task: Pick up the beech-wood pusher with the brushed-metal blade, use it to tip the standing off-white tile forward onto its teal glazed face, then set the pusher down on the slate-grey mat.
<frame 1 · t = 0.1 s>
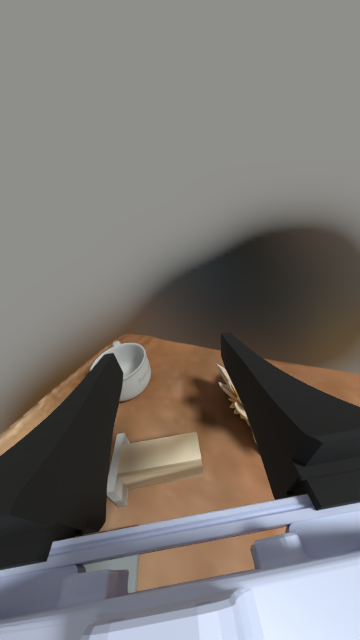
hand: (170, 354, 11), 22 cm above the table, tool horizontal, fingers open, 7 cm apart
teacup: (129, 381, 38), on the table
pusher: (166, 468, 24), on the table
decorative flower: (259, 415, 28), on the table
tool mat: (48, 633, 15), on the table
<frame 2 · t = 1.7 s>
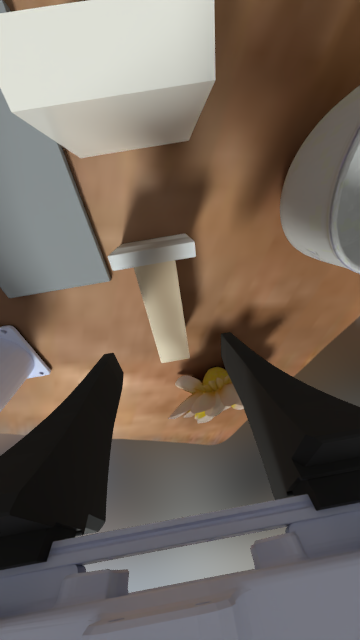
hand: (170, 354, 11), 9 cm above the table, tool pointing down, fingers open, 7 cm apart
teacup: (338, 181, 15), on the table
tile: (130, 129, 12), on the table
pusher: (165, 296, 19), on the table
decorative flower: (212, 376, 28), on the table
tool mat: (11, 196, 13), on the table
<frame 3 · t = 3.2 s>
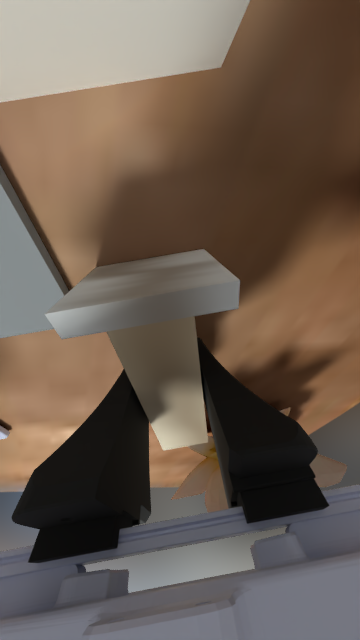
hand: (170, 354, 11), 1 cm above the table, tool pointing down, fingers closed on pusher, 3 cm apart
tile: (99, 36, 5), on the table
pusher: (168, 340, 13), on the table, touching gripper
decorative flower: (228, 424, 21), on the table
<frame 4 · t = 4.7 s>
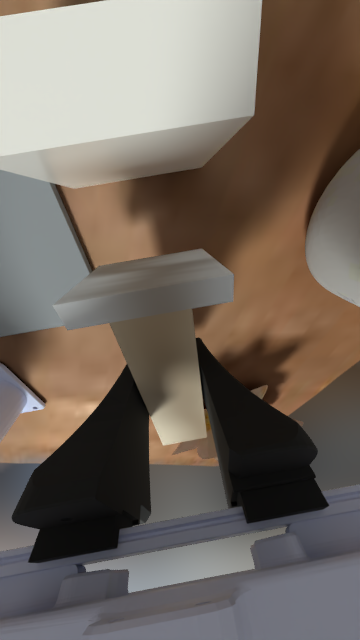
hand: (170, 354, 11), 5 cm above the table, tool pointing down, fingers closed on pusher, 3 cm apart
tile: (133, 156, 10), on the table
pusher: (168, 338, 13), point 4 cm above the table, touching gripper
decorative flower: (219, 401, 26), on the table
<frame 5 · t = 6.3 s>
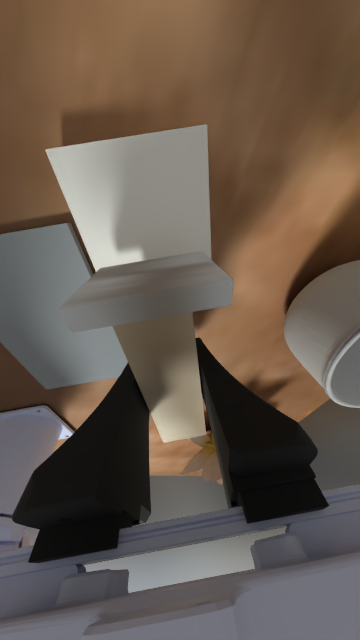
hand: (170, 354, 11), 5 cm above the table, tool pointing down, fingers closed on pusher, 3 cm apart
teacup: (333, 297, 17), on the table
tile: (156, 271, 13), point 1 cm above the table, tilted 90°
pusher: (169, 338, 13), point 3 cm above the table, touching gripper
decorative flower: (219, 425, 30), on the table
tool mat: (57, 325, 15), on the table
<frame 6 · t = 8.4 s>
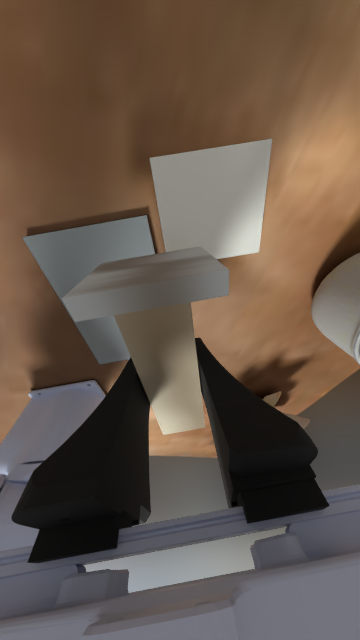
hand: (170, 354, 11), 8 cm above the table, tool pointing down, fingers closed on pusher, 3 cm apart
teacup: (354, 281, 20), on the table
tile: (210, 256, 16), point 1 cm above the table, tilted 90°
pusher: (168, 333, 13), point 6 cm above the table, touching gripper
decorative flower: (241, 403, 32), on the table
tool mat: (118, 304, 18), on the table
when the fingers open (4 cm above the table, at t = 9.9 s): pusher stays where it is, resting on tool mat.
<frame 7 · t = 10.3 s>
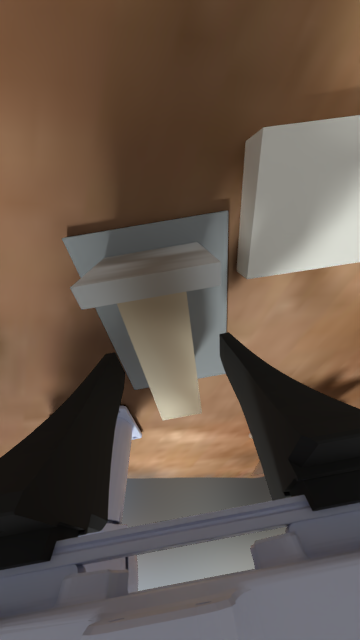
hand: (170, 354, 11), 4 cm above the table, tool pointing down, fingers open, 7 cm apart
tile: (294, 266, 12), point 1 cm above the table, tilted 90°
pusher: (167, 325, 14), point 1 cm above the table, touching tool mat
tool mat: (167, 322, 15), on the table
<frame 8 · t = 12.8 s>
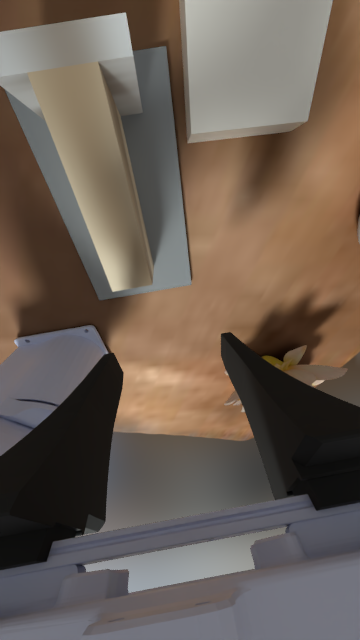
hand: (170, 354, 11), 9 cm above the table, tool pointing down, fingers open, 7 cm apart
tile: (243, 133, 12), point 1 cm above the table, tilted 90°
pusher: (122, 209, 14), point 1 cm above the table, touching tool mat
decorative flower: (257, 365, 28), on the table
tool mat: (124, 210, 15), on the table
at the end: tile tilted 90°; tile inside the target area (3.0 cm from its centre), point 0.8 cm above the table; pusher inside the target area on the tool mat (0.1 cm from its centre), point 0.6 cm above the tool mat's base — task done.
